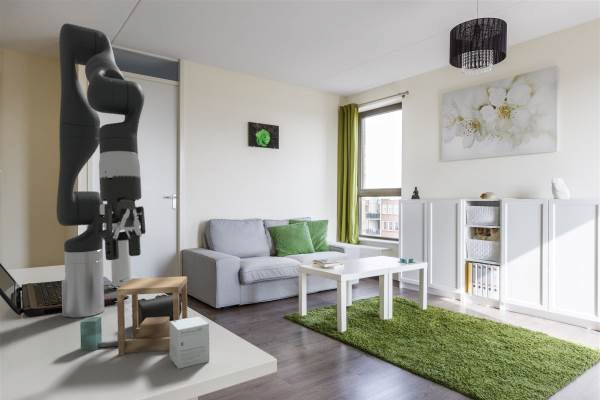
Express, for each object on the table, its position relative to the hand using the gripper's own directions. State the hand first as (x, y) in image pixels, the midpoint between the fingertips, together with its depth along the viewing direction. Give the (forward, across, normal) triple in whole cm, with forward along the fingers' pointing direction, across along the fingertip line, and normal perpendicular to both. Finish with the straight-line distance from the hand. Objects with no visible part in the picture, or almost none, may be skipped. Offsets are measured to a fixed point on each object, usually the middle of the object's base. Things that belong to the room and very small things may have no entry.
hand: (124, 257), depth 78 cm
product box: (+21, 0, +12) cm, 24 cm away
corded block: (+19, -6, -4) cm, 20 cm away
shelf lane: (+19, -8, +2) cm, 21 cm away
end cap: (+18, -20, -4) cm, 27 cm away
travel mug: (+13, -58, -33) cm, 68 cm away
